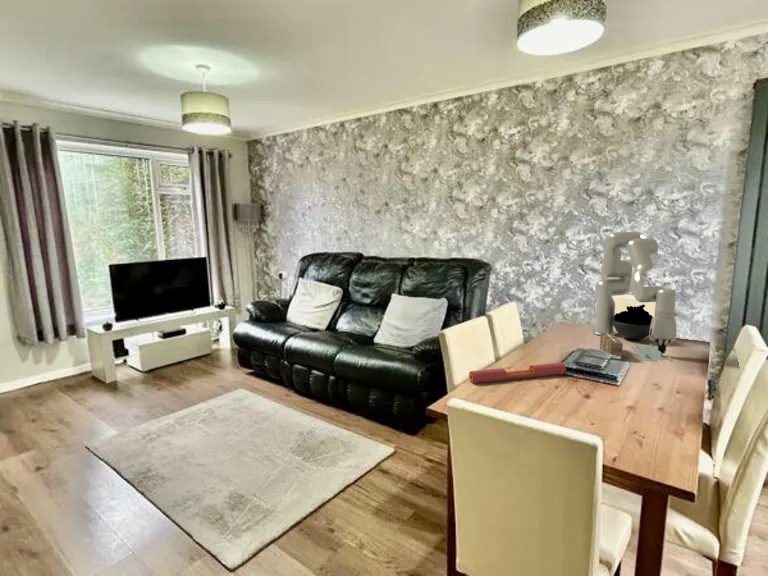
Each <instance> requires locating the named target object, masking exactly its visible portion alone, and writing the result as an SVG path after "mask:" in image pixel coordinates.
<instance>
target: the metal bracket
mask: <svg viewBox="0 0 768 576" xmlns="http://www.w3.org/2000/svg"><path fill="white" fill-rule="evenodd" d="M630 349H632V351H634V352H635V353H636V354H637V355H638V356H639V357H637V359H638V360H639V361H640V362H641V361H649V362H658V361H657V360H673V361H674V359H673V358H672V357H670V356H664V355H663V353H661V352H660V351H659V350H658V348H656V347H655V346H654V345H653V344H650V345H648V346H647V345H645V346H644V345H643V344H642V343H640V345H638V344H635V346H630Z"/></svg>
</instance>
